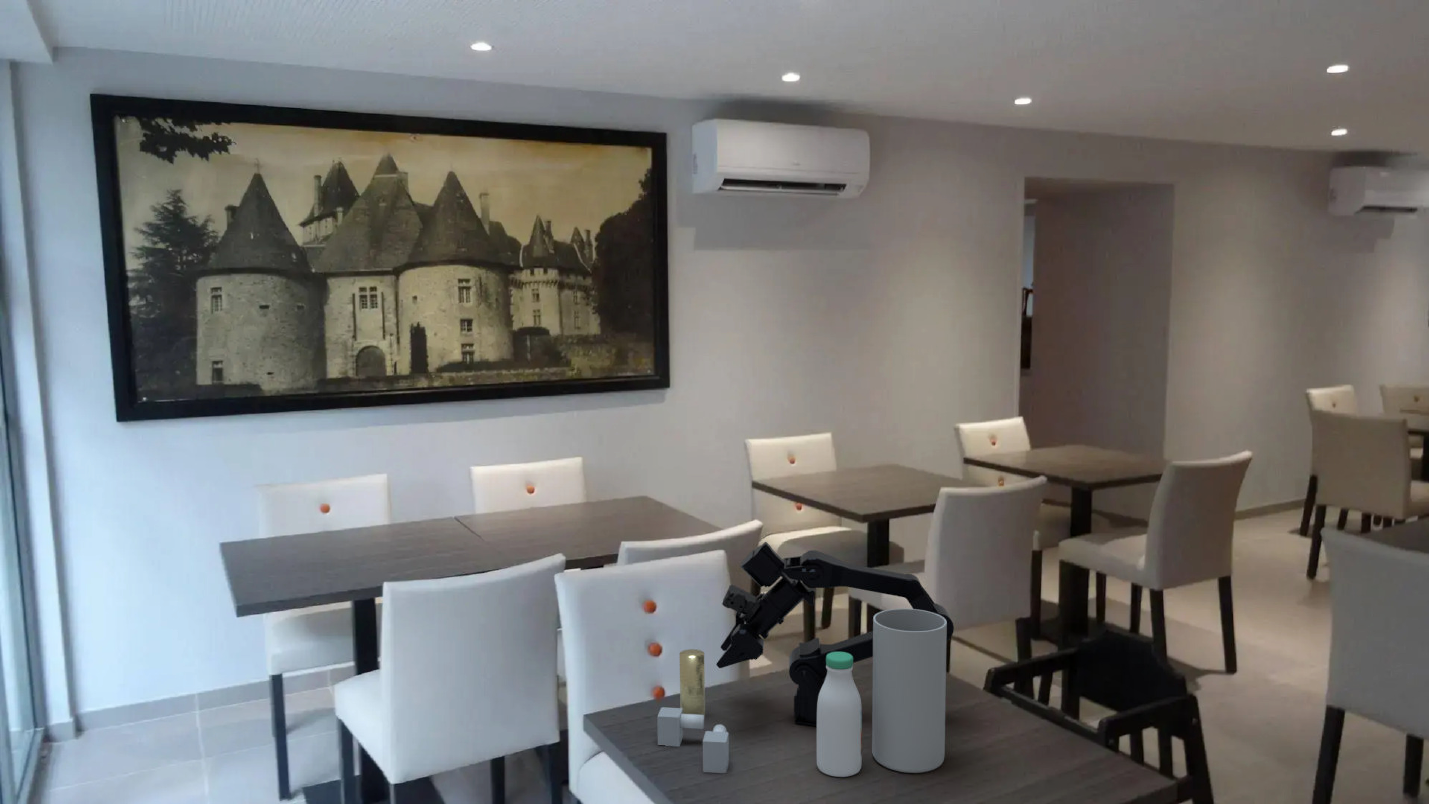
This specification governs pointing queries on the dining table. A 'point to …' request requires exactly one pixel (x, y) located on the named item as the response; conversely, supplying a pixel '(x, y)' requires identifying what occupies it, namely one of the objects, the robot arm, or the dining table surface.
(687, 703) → the olive pillar candle
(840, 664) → the milk bottle
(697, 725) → the shaft on bearing block
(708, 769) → the shaft on bearing block
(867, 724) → the dining table surface
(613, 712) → the dining table surface
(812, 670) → the robot arm
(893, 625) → the cylinder vase
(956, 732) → the dining table surface
